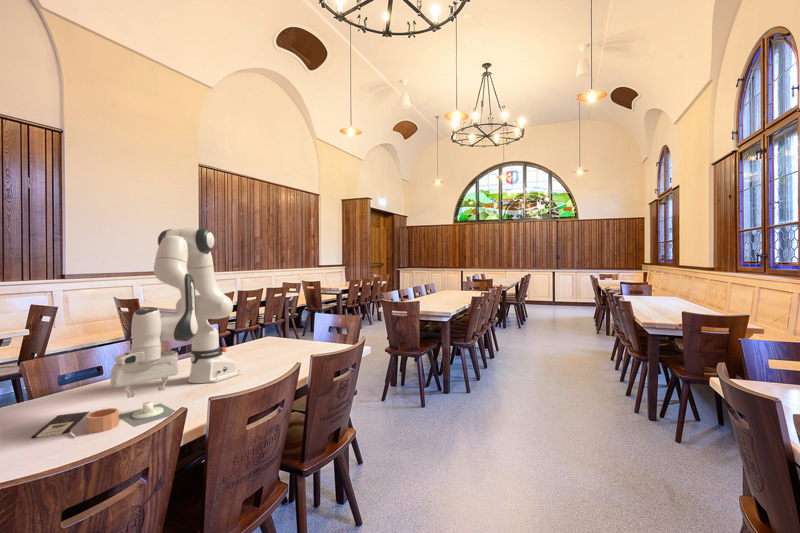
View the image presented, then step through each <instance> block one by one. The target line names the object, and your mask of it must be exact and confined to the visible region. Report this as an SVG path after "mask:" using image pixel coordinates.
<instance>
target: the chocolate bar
mask: <svg viewBox="0 0 800 533" xmlns="http://www.w3.org/2000/svg"><path fill="white" fill-rule="evenodd" d="M88 414H90V411H83V412H82V411H81V412H75V413H67V414H59V415H56V416H55V417H54V418H53V419H52V420H50V421H49V422H48V423H46V424H45V425H44V426H43V427H41V428H40V429H39V430H37V432H35V433H34V434H33V435H32V436H30V439H31V438H32V439H37V437H39V438H44V437H43V436H46V437H49V436H48V435H53V436H57V435H56V434H60V435H65V433H67V434H68V433H70V432H71V429H73V428H74V427H75V426H76V425H78V423H79V422H80V421H81V420H83V418H84V417H85V416H87V415H88ZM69 431H70V432H69Z"/></svg>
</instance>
